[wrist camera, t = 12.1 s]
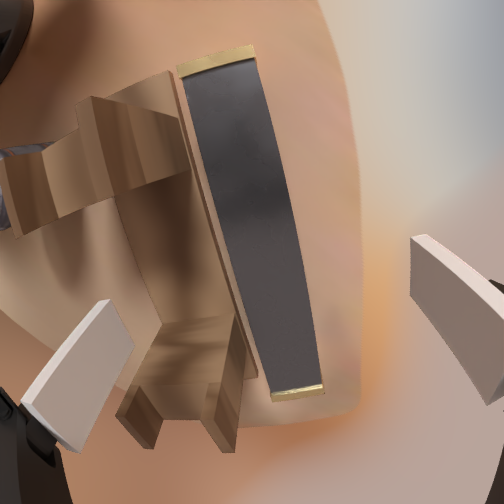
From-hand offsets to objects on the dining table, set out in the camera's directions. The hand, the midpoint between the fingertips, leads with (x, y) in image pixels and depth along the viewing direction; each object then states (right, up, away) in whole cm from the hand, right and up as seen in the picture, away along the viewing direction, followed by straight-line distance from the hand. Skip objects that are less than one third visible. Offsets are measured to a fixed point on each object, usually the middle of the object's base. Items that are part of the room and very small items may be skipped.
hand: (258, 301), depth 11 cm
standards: (-6, +2, +12) cm, 13 cm away
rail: (+1, +4, +11) cm, 11 cm away
